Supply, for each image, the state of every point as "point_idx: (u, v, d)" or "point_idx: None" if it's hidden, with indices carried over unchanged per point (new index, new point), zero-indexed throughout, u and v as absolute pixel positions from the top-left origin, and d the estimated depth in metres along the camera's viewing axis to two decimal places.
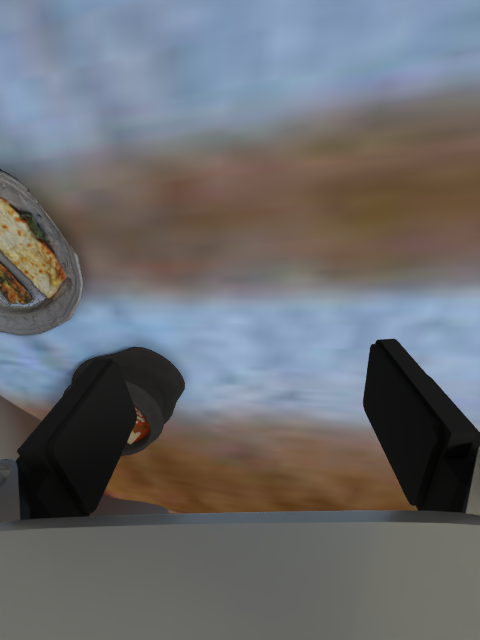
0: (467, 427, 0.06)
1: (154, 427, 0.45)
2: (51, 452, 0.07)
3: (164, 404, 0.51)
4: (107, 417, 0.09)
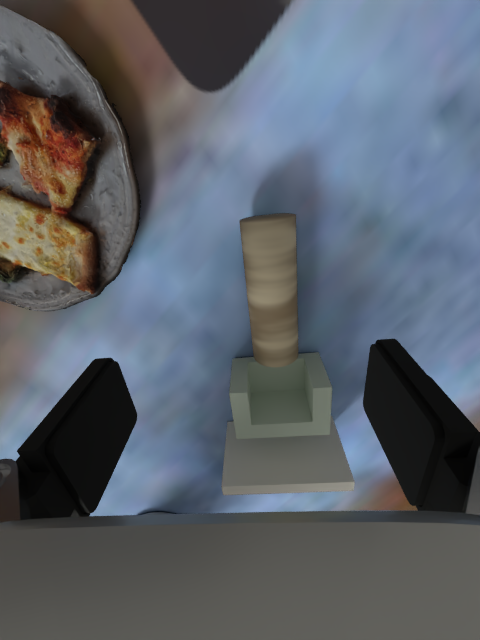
0: (467, 427, 0.06)
1: None
2: (51, 452, 0.07)
3: None
4: (107, 417, 0.09)
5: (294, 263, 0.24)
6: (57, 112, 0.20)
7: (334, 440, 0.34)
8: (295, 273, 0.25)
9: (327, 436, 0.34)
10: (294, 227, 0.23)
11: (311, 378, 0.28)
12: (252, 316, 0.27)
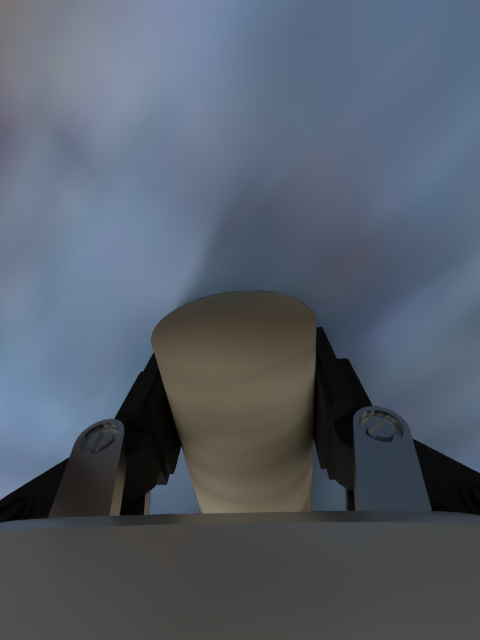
0: (349, 395, 0.07)
1: None
2: (149, 414, 0.08)
3: None
4: None
5: (309, 441, 0.09)
6: None
7: None
8: (310, 456, 0.10)
9: None
10: (312, 361, 0.08)
11: None
12: None
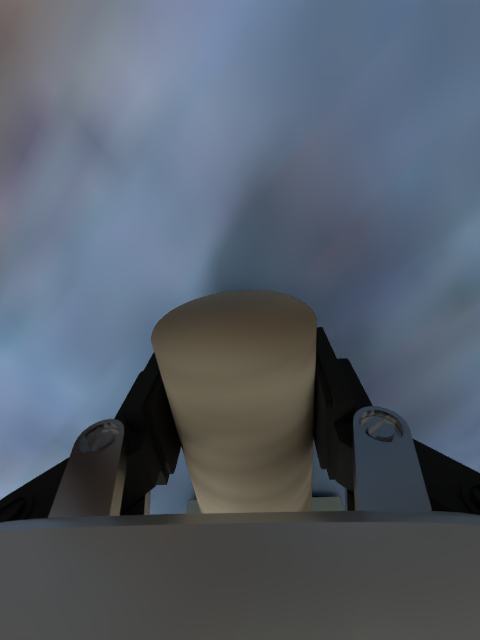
0: (349, 395, 0.07)
1: None
2: (149, 414, 0.08)
3: None
4: None
5: (309, 440, 0.09)
6: None
7: None
8: (310, 455, 0.09)
9: None
10: (312, 359, 0.08)
11: None
12: None
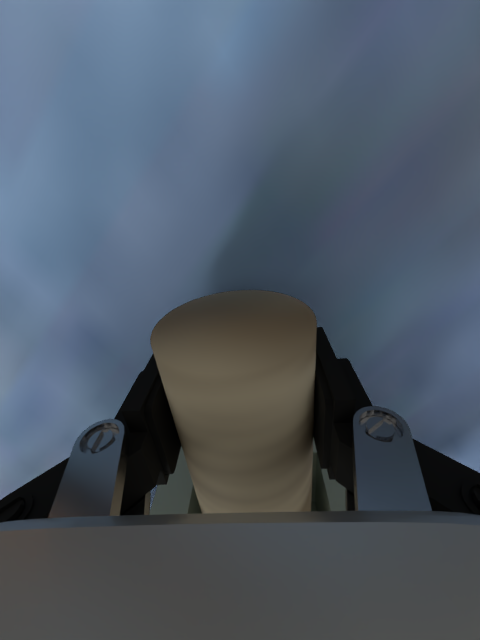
0: (349, 395, 0.07)
1: None
2: (149, 414, 0.08)
3: None
4: None
5: (309, 441, 0.09)
6: None
7: None
8: (310, 455, 0.10)
9: None
10: (312, 361, 0.08)
11: None
12: None
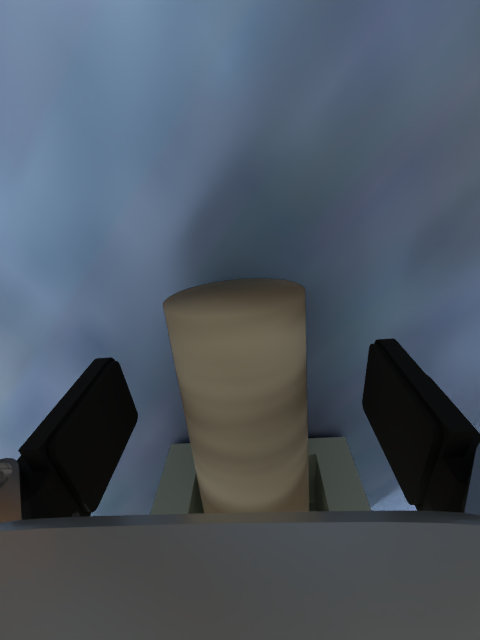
0: (465, 426, 0.06)
1: None
2: (52, 451, 0.07)
3: None
4: (108, 417, 0.09)
5: (302, 405, 0.10)
6: None
7: None
8: (304, 424, 0.10)
9: None
10: (302, 322, 0.09)
11: None
12: (204, 508, 0.12)
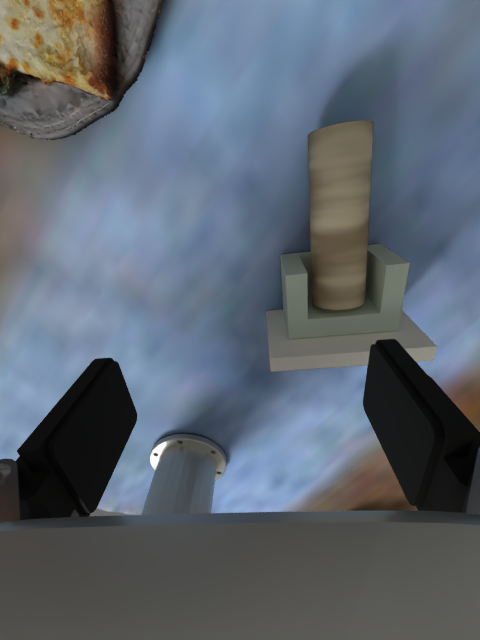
0: (467, 427, 0.06)
1: None
2: (51, 452, 0.07)
3: None
4: (107, 417, 0.09)
5: (370, 180, 0.22)
6: None
7: (400, 316, 0.28)
8: (369, 193, 0.22)
9: None
10: (372, 135, 0.21)
11: (381, 259, 0.24)
12: (317, 248, 0.24)
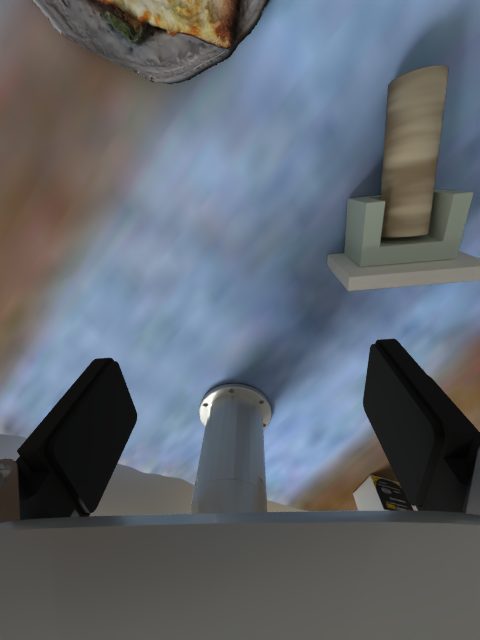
0: (467, 427, 0.06)
1: None
2: (51, 452, 0.07)
3: None
4: (107, 417, 0.09)
5: None
6: None
7: None
8: (440, 133, 0.27)
9: None
10: (446, 81, 0.25)
11: (445, 192, 0.28)
12: (392, 181, 0.28)
